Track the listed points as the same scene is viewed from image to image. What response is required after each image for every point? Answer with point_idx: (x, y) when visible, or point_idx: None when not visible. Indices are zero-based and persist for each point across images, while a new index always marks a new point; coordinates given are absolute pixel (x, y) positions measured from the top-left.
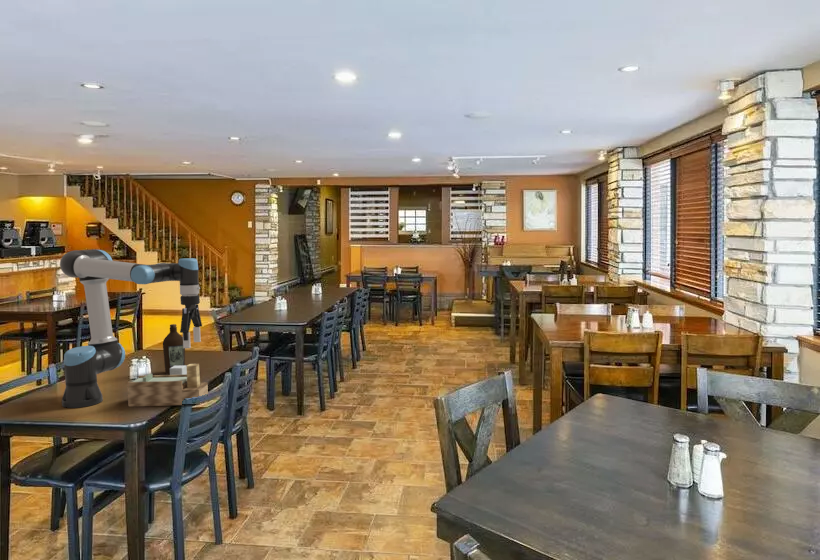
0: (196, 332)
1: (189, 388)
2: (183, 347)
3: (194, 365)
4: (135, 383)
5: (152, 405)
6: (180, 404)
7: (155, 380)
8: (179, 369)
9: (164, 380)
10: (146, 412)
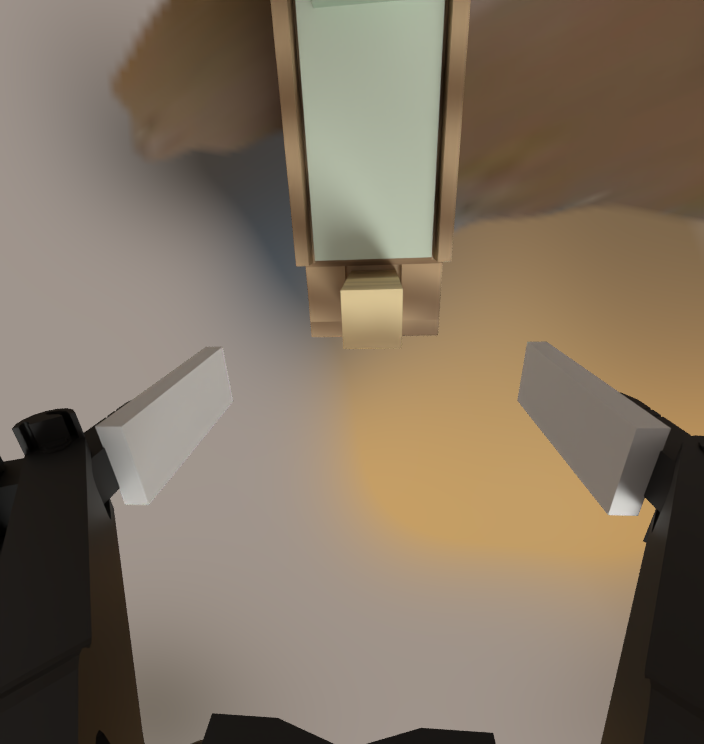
0: (574, 424)
1: (332, 288)
2: (202, 350)
3: (353, 335)
4: None
5: None
6: None
7: (361, 60)
8: None
9: (357, 132)
10: (213, 134)
